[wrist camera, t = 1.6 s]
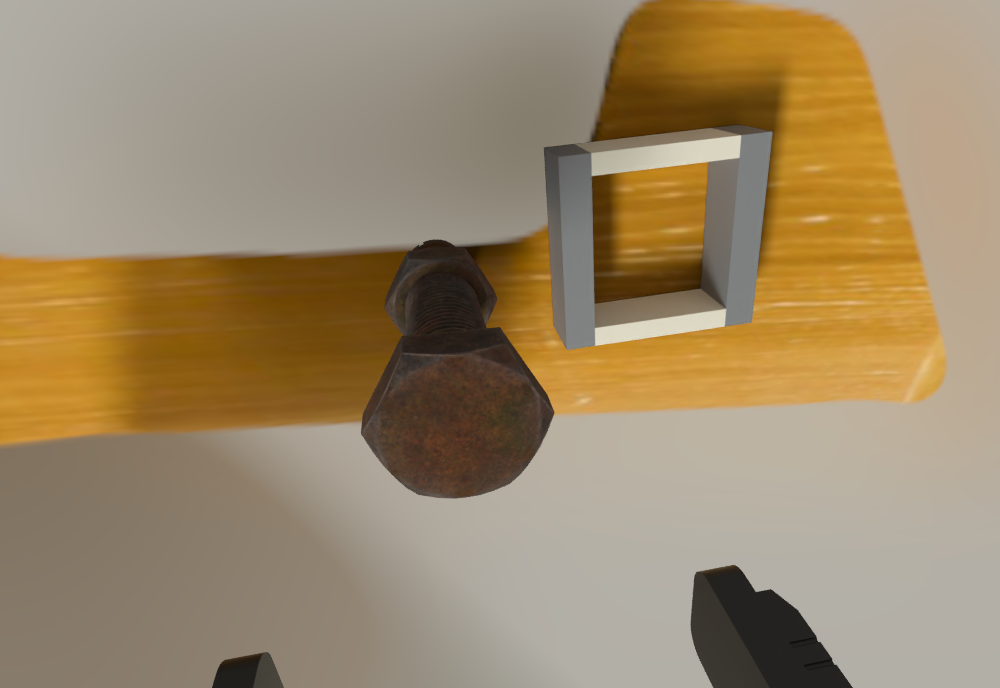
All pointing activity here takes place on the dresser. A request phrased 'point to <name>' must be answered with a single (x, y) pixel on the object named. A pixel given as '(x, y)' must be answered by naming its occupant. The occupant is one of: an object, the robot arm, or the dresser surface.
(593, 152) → the grey white square frame
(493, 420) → the bolt
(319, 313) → the dresser surface
